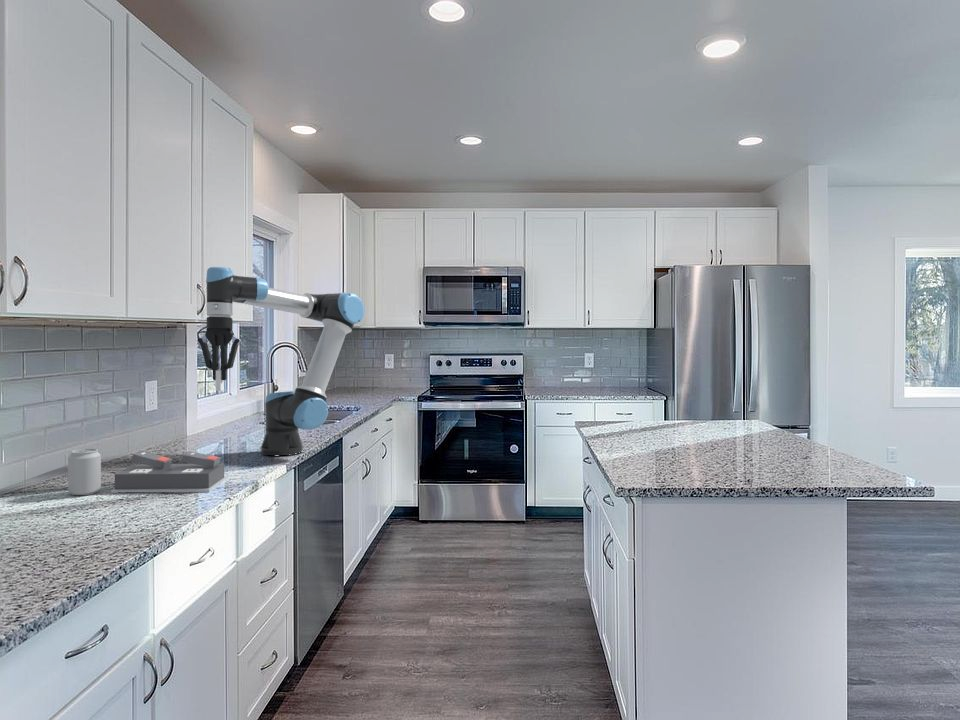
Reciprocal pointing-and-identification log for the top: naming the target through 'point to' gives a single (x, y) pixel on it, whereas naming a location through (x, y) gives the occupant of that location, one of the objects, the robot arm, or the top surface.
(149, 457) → the rocker
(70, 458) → the can
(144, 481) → the power strip
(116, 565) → the top surface
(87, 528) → the top surface
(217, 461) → the block
